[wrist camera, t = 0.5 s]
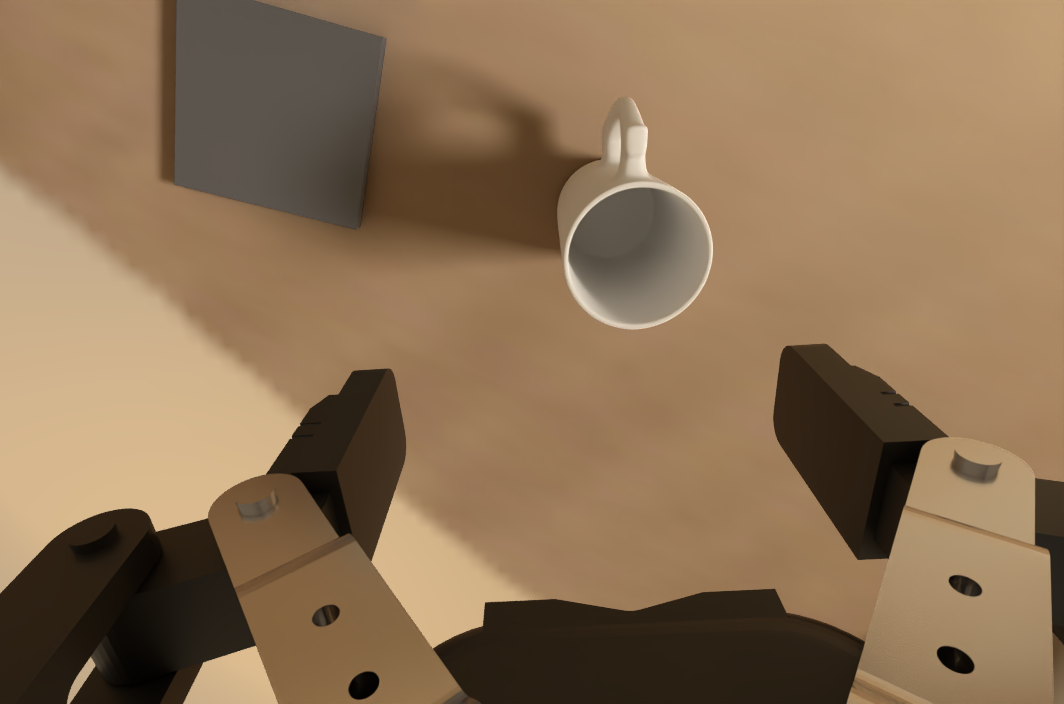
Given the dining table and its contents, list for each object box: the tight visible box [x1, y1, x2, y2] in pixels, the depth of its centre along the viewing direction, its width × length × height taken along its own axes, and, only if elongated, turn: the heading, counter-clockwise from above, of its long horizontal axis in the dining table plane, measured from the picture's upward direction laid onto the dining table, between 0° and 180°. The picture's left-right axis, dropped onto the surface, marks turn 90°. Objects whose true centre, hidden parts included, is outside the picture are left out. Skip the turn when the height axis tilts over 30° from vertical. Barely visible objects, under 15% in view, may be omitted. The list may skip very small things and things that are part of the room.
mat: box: [174, 0, 386, 230], centre depth 34 cm, size 11×11×1 cm
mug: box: [557, 97, 713, 329], centre depth 31 cm, size 10×7×12 cm, turn 2°
